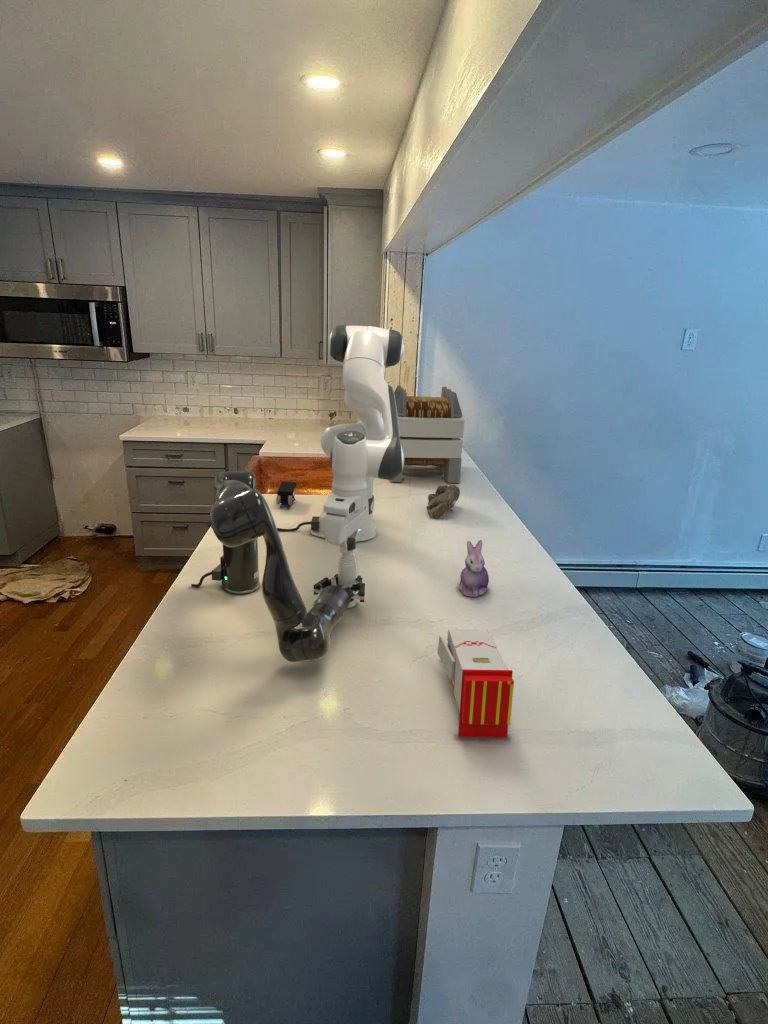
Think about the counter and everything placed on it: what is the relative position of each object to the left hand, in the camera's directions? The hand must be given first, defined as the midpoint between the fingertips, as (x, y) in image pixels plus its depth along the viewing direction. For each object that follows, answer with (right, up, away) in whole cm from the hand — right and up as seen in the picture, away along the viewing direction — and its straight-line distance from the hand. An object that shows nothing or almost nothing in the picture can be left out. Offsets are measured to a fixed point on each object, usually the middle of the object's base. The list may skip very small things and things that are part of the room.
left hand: (349, 577), depth 152 cm
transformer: (+26, +36, +123) cm, 131 cm away
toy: (+27, -20, -33) cm, 47 cm away
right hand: (0, +8, -6) cm, 10 cm away
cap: (0, +10, -6) cm, 12 cm away
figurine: (+35, -5, +10) cm, 36 cm away
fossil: (+32, +18, +73) cm, 82 cm away
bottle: (-1, -7, 0) cm, 7 cm away
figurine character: (-29, +20, +72) cm, 81 cm away
